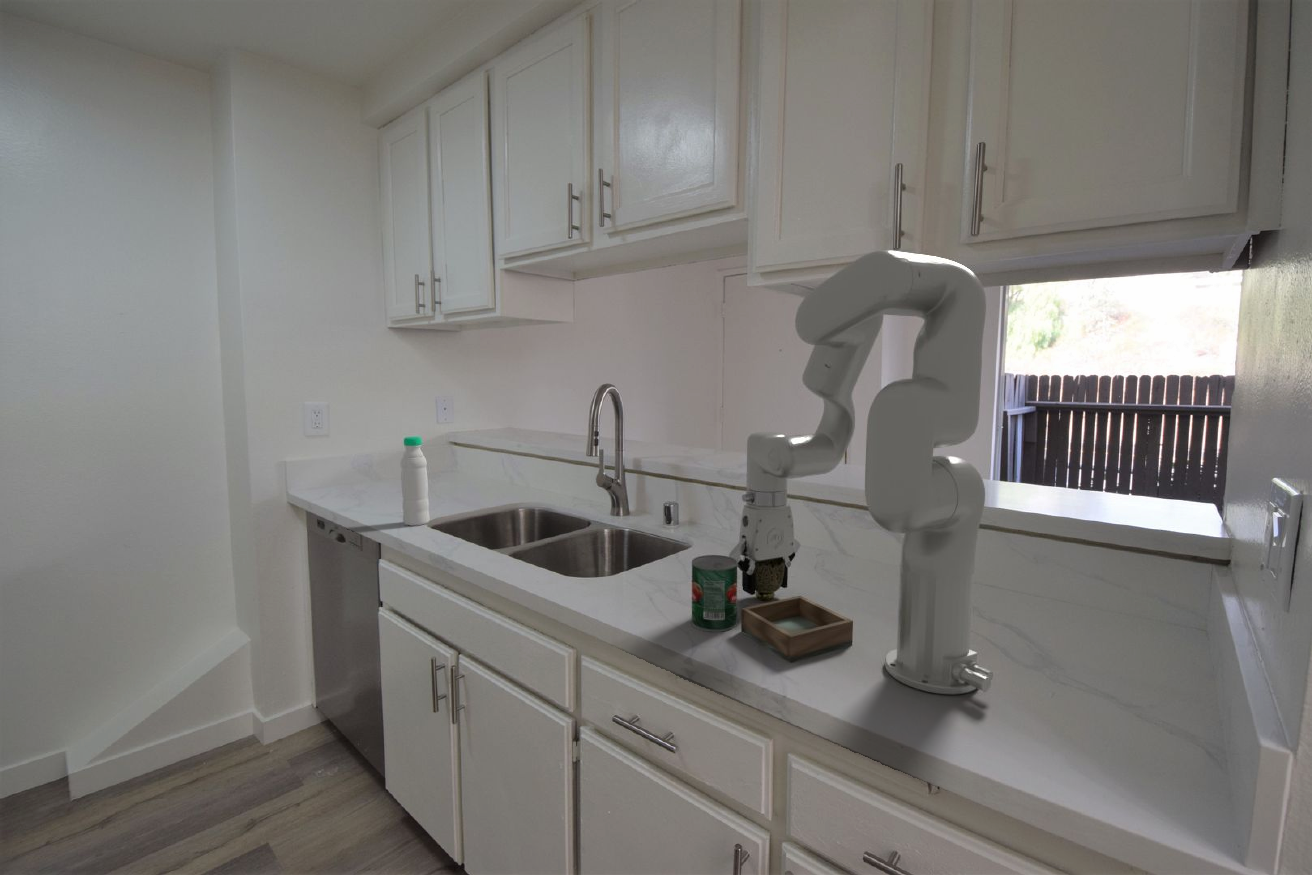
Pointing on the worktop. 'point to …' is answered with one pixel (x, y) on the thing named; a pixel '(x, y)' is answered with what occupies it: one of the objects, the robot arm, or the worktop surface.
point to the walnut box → (796, 628)
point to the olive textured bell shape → (768, 578)
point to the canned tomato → (714, 593)
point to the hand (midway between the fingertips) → (765, 588)
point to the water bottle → (414, 483)
